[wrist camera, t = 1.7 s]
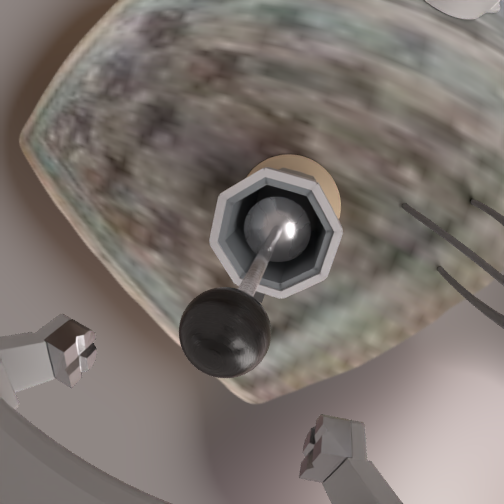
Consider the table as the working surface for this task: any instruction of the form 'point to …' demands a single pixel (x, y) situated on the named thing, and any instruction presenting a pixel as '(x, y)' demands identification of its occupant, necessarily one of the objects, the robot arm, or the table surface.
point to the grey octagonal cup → (300, 190)
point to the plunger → (243, 295)
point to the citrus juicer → (488, 311)
